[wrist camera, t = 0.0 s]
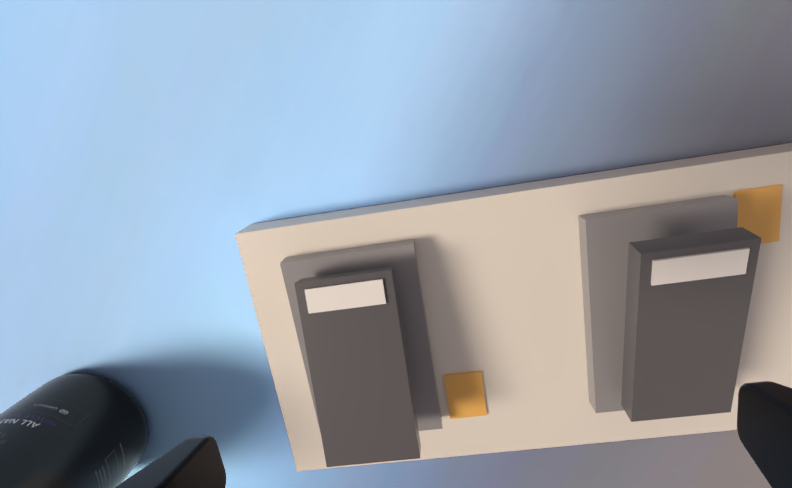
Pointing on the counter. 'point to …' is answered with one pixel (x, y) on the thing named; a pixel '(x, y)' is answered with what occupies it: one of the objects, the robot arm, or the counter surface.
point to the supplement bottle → (72, 435)
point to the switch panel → (526, 297)
